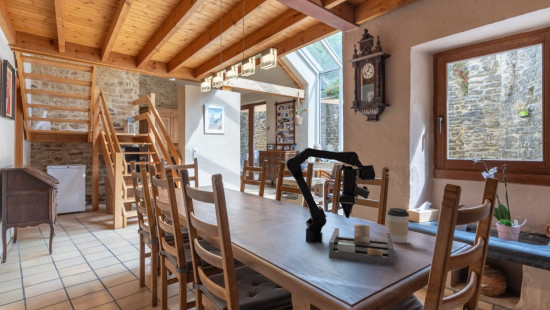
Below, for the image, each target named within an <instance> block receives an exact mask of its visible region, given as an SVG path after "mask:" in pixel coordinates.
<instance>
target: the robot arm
mask: <svg viewBox="0 0 550 310" xmlns="http://www.w3.org/2000/svg"><path fill="white" fill-rule="evenodd" d="M310 158H318V159H325V160H332V161H336V162H339V163H342V164H341V165H340V166H339V167H338V168H337V169H338V170H340V171H343V172H342V183H341V185H342V192H341V196H339V197H338V198H339V203H340V206H341V208H342V211H343V213H344V216H345V218H346V219H350V216H351V214H352V212H353V209H354V205H356V201H357V200H358V198H359V197H362V198H363V199H365V200H368V198H369V195H370V193H371V190H369V189H368V188H369V187H368V186H366V185H363V186H359V185H358V182H357V179H359V181H371V182H373V181H375V178H376V172H375V168H374V165H373V164H365V165H363V163H362V162H361V160H360V159H359V155H358V153H357V152H355V151H332V150H325V149H324V150H323V149H317V148H311V147H305V148H304V149H303V150H302V151H300V152H299V153H297V154H296V155H294V156H292V157H288V158H287V159H286V161H285V163H284V164H285V168H286V169H287V171H288V172H289V173H290V175H292V177H293V178H294V180H295V182H296V184H297V187H298V189H299V191H300V193H301V196H302V197H303V199H304V201H305V204H306V206H307V209H308V214H309V218H308V219H307V220H306V221H305V224H306V228H305V243H311V244H322V243H323V239H324V238H323V237H324V236H323V235H324V234H323V232H322V230H323V227H325V226H326V225H327V224H326V223H327V217H328V216H327V215H326V213H325V211H324V208H323V207H322V206H321V205H319V206H318V205H317V203H316V200H315V198H314V196H313V194H312V192H311V190H310V188H309V186H308V184H307V182H306V180H305V177H304V175H303V169H302V164H303V163H305V162H306V161H307V160H308V159H310Z"/></svg>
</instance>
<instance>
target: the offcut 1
mask: <svg viewBox="0 0 550 310" xmlns="http://www.w3.org/2000/svg"><path fill="white" fill-rule="evenodd" d="M338 251H343V252H352V253H355V244H351V243H342V242H338Z"/></svg>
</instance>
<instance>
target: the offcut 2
mask: <svg viewBox="0 0 550 310" xmlns="http://www.w3.org/2000/svg"><path fill="white" fill-rule="evenodd" d="M382 252H383V251H382V249H373V248H368V254H369V255H378V256H382Z"/></svg>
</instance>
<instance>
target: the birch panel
mask: <svg viewBox="0 0 550 310" xmlns="http://www.w3.org/2000/svg"><path fill="white" fill-rule="evenodd" d="M353 227H354V229H353V230H354V231H353V232H354V236H353V238H354V241H357V242H366V243H370V240H371V238H370V237H371V225H370V224H358V223H354V226H353Z"/></svg>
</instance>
